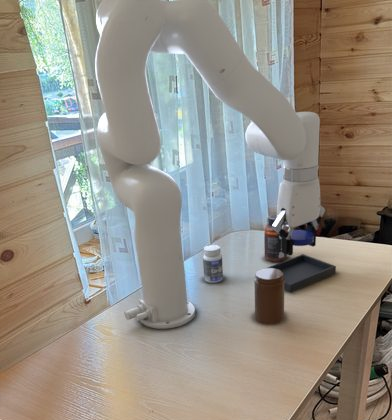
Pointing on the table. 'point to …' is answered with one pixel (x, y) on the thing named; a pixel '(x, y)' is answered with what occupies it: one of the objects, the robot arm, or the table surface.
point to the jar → (269, 295)
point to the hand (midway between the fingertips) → (298, 248)
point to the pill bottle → (212, 264)
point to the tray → (303, 271)
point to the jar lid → (302, 237)
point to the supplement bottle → (273, 242)
